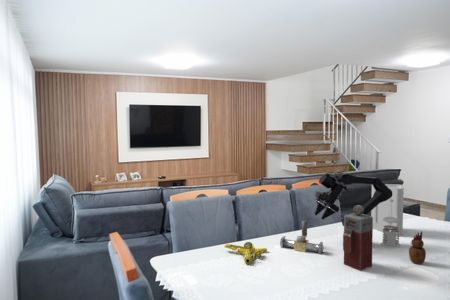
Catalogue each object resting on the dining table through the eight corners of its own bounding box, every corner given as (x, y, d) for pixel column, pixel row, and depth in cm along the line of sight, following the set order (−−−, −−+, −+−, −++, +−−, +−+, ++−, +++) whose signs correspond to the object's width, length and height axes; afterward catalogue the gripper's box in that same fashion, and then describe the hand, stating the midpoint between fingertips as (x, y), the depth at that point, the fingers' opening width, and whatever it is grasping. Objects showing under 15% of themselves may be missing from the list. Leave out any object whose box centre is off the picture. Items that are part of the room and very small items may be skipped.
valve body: (323, 250, 172) (323, 241, 172) (321, 254, 167) (321, 245, 166) (283, 244, 183) (283, 235, 182) (279, 247, 177) (279, 238, 177)
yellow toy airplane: (269, 265, 154) (267, 248, 174) (267, 252, 154) (266, 236, 174) (222, 268, 157) (225, 251, 176) (220, 255, 156) (224, 239, 176)
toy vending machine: (340, 265, 153) (340, 205, 152) (355, 260, 160) (356, 202, 158) (357, 272, 146) (358, 209, 144) (372, 266, 152) (373, 205, 150)
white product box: (414, 233, 200) (415, 187, 199) (397, 236, 194) (398, 189, 192) (386, 225, 217) (387, 182, 216) (370, 228, 211) (371, 184, 210)
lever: (304, 242, 171) (304, 226, 171) (296, 241, 173) (296, 225, 173) (309, 236, 181) (309, 221, 180) (301, 235, 183) (301, 220, 182)
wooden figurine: (423, 261, 157) (424, 230, 156) (426, 265, 152) (427, 233, 151) (407, 259, 159) (408, 228, 159) (410, 264, 154) (410, 232, 153)
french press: (381, 246, 177) (382, 200, 176) (379, 240, 188) (380, 196, 187) (401, 249, 174) (402, 201, 172) (399, 242, 184) (400, 197, 183)
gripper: (316, 182, 190) (301, 205, 190) (329, 188, 171) (313, 213, 171) (331, 193, 191) (316, 215, 191) (346, 199, 173) (330, 224, 172)
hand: (318, 217), depth 181 cm, fingers open, 9 cm apart
